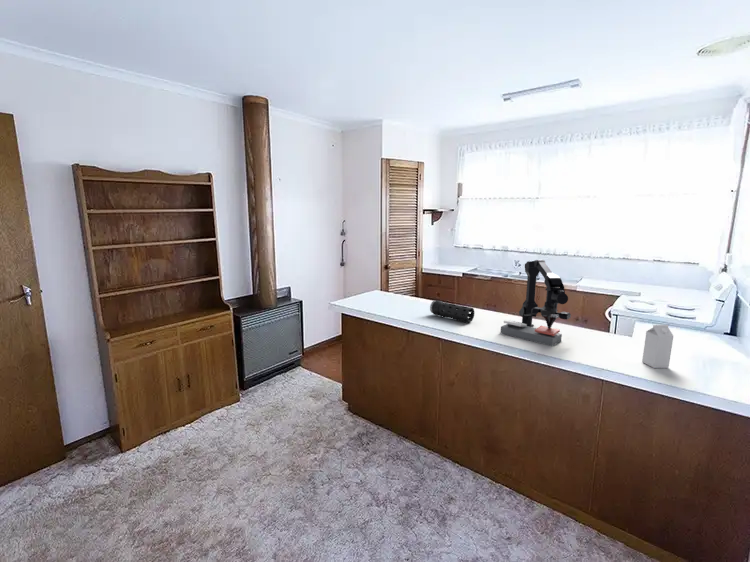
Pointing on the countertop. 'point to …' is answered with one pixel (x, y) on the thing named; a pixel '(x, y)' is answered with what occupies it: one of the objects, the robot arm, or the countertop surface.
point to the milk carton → (658, 346)
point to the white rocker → (515, 323)
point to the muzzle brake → (452, 311)
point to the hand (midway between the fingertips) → (549, 328)
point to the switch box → (530, 334)
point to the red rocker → (547, 330)
